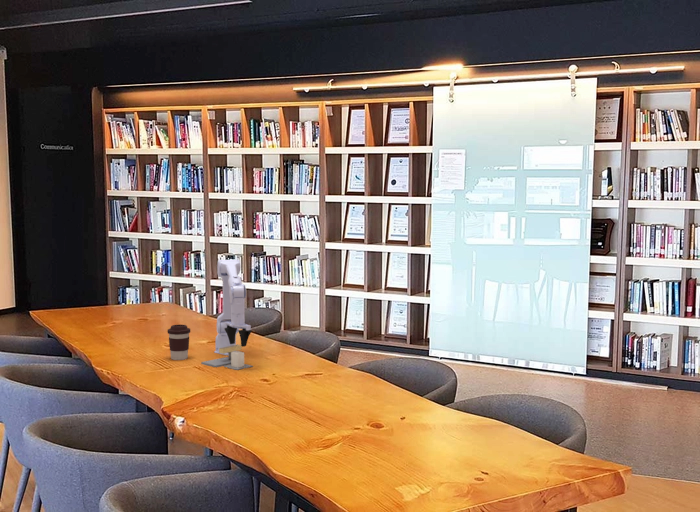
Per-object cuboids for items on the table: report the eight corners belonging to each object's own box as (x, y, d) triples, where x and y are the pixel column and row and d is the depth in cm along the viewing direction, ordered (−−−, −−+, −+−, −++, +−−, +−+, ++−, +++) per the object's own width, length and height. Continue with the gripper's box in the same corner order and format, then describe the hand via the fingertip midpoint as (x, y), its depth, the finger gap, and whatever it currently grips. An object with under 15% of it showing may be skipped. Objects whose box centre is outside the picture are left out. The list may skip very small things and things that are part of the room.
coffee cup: (193, 356, 347) (193, 324, 346) (186, 361, 337) (186, 327, 336) (172, 356, 348) (171, 323, 347) (164, 361, 338) (164, 327, 337)
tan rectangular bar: (219, 352, 333) (219, 348, 333) (237, 348, 342) (237, 344, 342) (223, 353, 332) (223, 349, 332) (241, 349, 341) (241, 345, 340)
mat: (223, 366, 327) (223, 366, 327) (239, 363, 334) (239, 362, 334) (236, 370, 321) (236, 369, 321) (253, 366, 328) (253, 365, 328)
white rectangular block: (231, 352, 327) (237, 350, 330) (231, 365, 328) (237, 364, 330) (237, 353, 324) (244, 352, 327) (237, 367, 325) (244, 366, 327)
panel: (201, 364, 332) (201, 353, 331) (226, 359, 342) (226, 349, 342) (215, 368, 325) (215, 357, 325) (241, 362, 336) (241, 352, 335)
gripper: (219, 312, 328) (219, 344, 329) (241, 316, 318) (241, 348, 319) (232, 310, 333) (232, 341, 334) (254, 314, 323) (254, 346, 324)
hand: (238, 345), depth 327 cm, fingers open, 7 cm apart
